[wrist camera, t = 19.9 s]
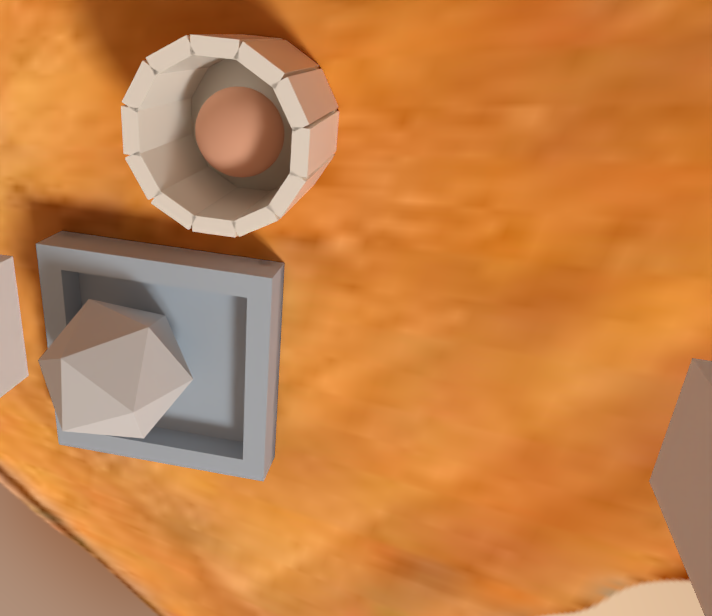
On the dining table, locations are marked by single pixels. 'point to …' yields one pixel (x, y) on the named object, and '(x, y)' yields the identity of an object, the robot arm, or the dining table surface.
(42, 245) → the tray
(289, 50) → the cup
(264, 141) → the ball
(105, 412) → the die
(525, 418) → the dining table surface
